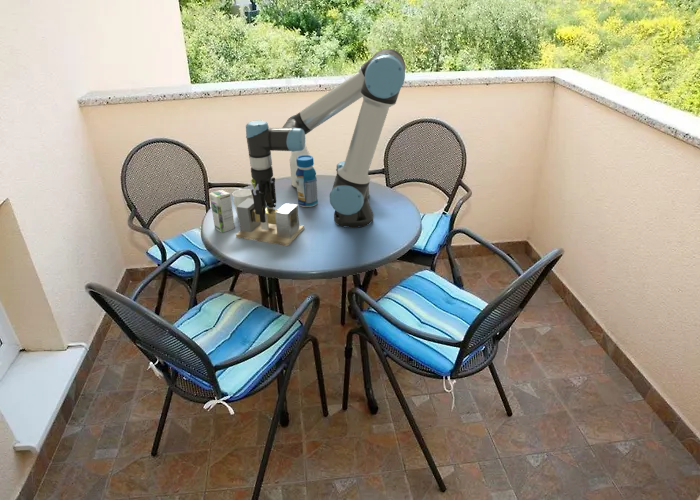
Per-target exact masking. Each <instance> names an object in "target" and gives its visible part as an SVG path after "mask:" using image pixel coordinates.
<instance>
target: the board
mask: <svg viewBox="0 0 700 500" xmlns="http://www.w3.org/2000/svg"><path fill="white" fill-rule="evenodd" d="M268 225H269V230H264V229H261V224H260V225H259V226H258V227H256V228H255V229H254V230H253V231H252V232H245V231H240V230H239V231H238V232H237V233H235V237H236V238H239V239H246V240H252V241H256V242H257V241H258V242H262V243H268V244H275V245H280V246H286V247H288V246H289V245H290V244H291V243H292V242H293V241H294V240H295V239H296V238H297V237H298V236H299V235H300V233H302V231H303V230H305V225H304V224H303V225H302V224H299V230H298V231H297V232H296V233H295V234H294V235H293V236H292V237H291V238H290V239H288V238H282V237H277V227H276V224H268Z"/></svg>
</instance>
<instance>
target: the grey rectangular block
mask: <svg viewBox="0 0 700 500" xmlns="http://www.w3.org/2000/svg"><path fill="white" fill-rule="evenodd" d="M298 206H299V204H294V203H287V202H286V203H283V205H281V206H280V207H279V208H278V209H277V211H276V212H275V218H276V227H277V237H282V238H288V239H290V238H291V237H292V236H293V235H294V234H295V233H296V232H297V231H298V230H299V225H300V221H299V220H300V219H299V218H300V217H299V207H298ZM290 216H291V220H292V222H291V223H290Z"/></svg>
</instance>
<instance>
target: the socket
mask: <svg viewBox="0 0 700 500" xmlns="http://www.w3.org/2000/svg"><path fill="white" fill-rule="evenodd" d="M254 208H255V207H254V200H253V199H251V198H247V199H246V200H245V201H244V202H242V203H241V204H240V205H238V206H237V212H238V217H237V219H238V225H239V231H245V232H252V231H253V230H254V229H255V228H256V227H258V226H259V225H260V224H261V222H254V221H252V213H251V211H252V210H253V209H254ZM237 212H236V213H237Z"/></svg>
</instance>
